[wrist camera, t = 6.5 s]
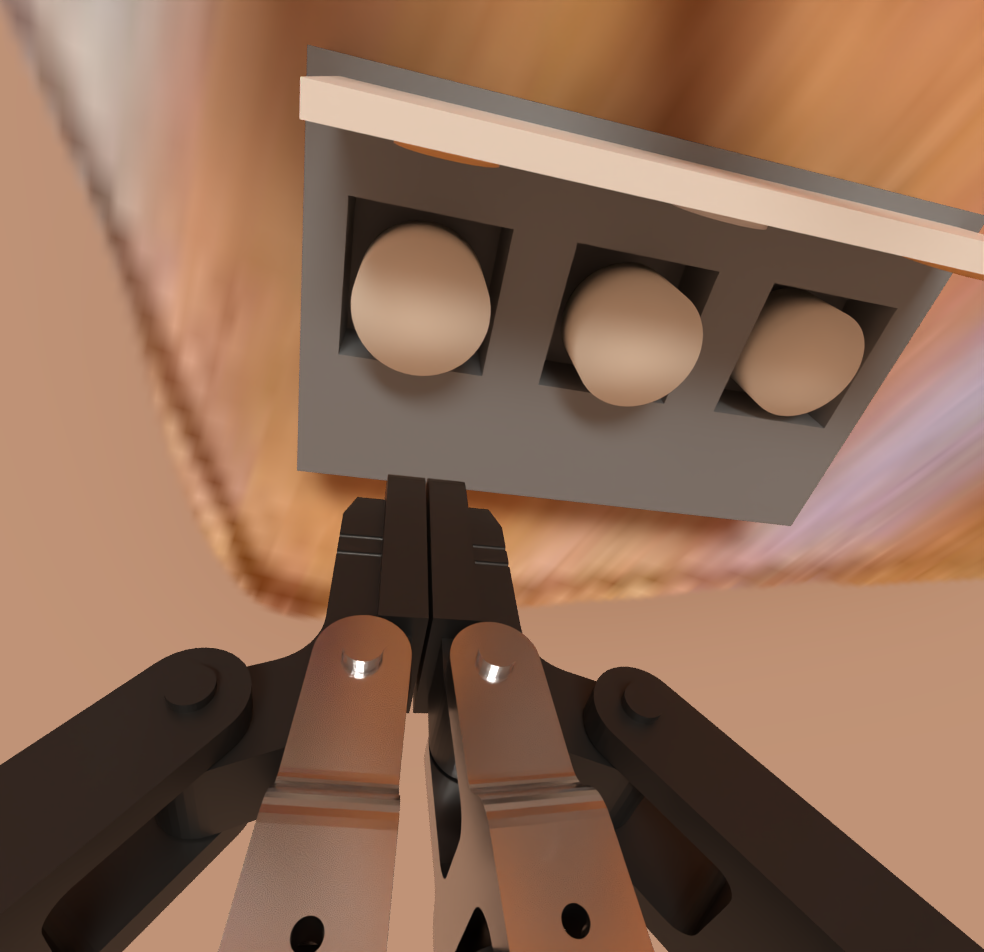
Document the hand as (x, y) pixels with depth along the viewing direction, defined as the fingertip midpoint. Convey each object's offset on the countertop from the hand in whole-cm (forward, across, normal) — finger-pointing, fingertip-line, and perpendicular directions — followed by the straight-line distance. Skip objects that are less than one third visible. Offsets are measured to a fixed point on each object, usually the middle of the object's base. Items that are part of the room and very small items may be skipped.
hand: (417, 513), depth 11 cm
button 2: (+16, -17, 0) cm, 23 cm away
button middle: (+14, -9, 0) cm, 17 cm away
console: (+17, -9, +1) cm, 19 cm away
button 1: (+14, 0, 0) cm, 14 cm away
